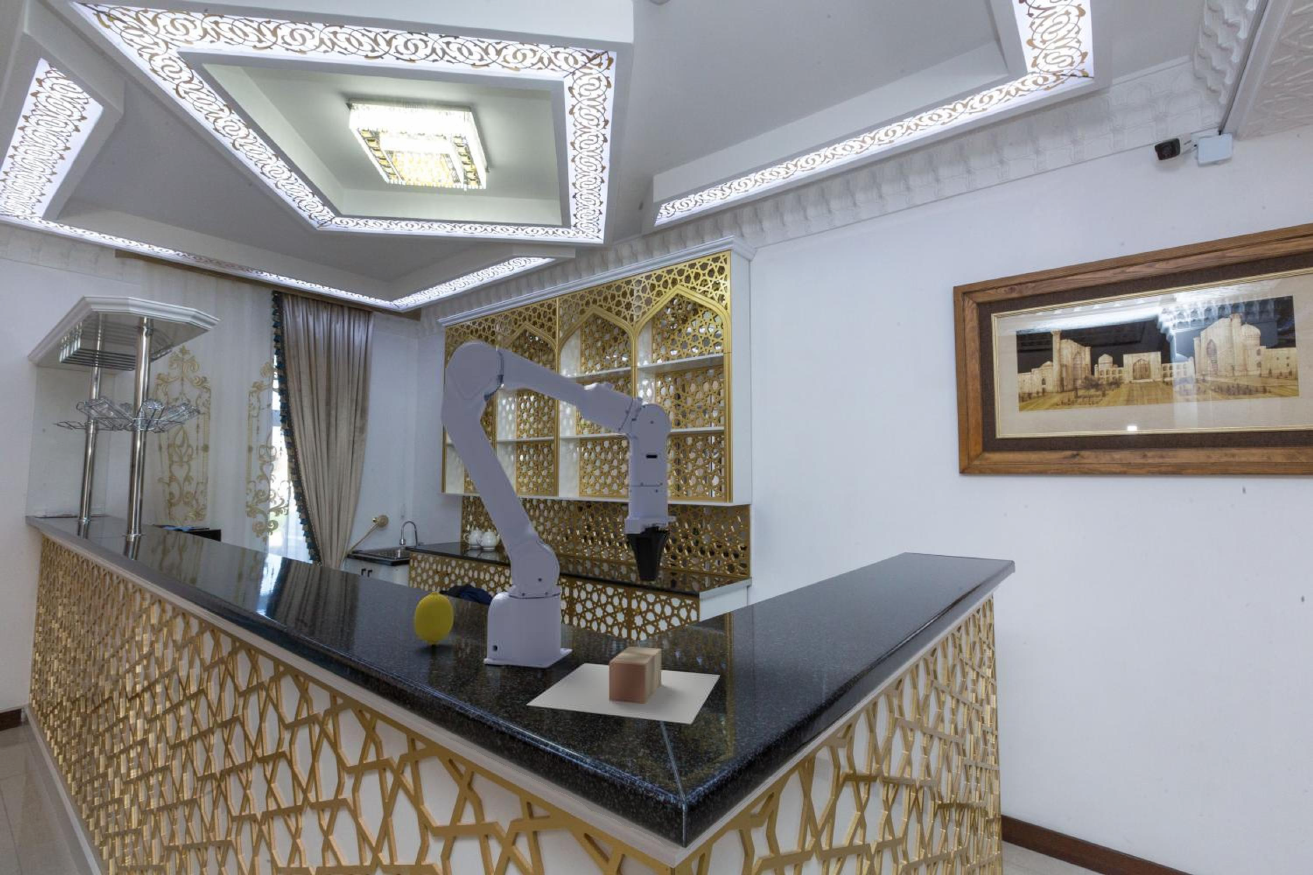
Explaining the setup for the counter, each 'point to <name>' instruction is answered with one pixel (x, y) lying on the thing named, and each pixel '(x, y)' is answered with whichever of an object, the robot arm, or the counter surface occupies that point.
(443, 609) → the lemon
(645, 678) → the maple block
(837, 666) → the counter surface
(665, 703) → the grey mat
